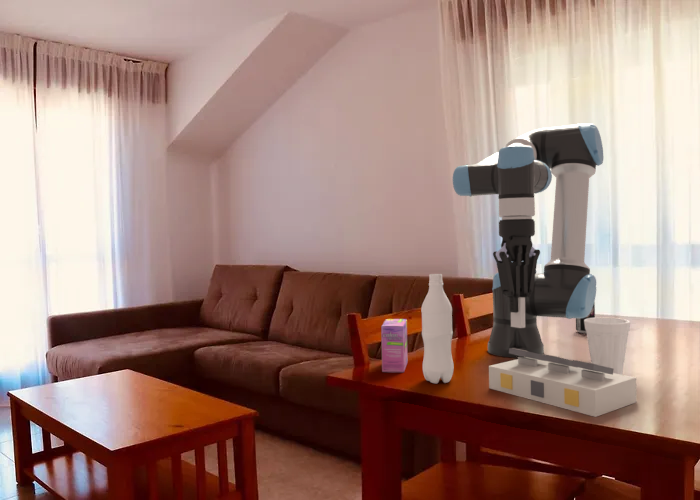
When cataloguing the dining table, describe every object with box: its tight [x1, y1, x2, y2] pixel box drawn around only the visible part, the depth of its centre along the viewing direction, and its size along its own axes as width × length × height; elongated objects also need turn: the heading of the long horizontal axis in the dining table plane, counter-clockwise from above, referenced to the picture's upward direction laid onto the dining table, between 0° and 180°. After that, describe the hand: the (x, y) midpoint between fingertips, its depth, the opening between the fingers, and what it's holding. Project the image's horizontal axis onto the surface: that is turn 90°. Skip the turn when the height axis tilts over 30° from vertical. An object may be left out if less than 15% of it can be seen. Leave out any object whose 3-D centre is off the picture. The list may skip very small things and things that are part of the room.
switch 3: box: [572, 359, 614, 375], centre depth 121 cm, size 7×5×1 cm, turn 125°
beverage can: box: [575, 301, 596, 334], centre depth 195 cm, size 6×6×12 cm
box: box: [380, 318, 409, 373], centre depth 156 cm, size 10×6×12 cm, turn 170°
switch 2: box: [539, 353, 574, 367], centre depth 128 cm, size 7×5×1 cm, turn 125°
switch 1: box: [509, 348, 544, 361], centre depth 134 cm, size 7×5×1 cm, turn 125°
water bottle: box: [420, 273, 455, 384], centre depth 141 cm, size 7×7×25 cm
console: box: [488, 357, 637, 418], centre depth 128 cm, size 14×26×6 cm, turn 35°
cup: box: [584, 316, 631, 375], centre depth 141 cm, size 10×10×13 cm
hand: (518, 326), depth 132 cm, fingers closed
